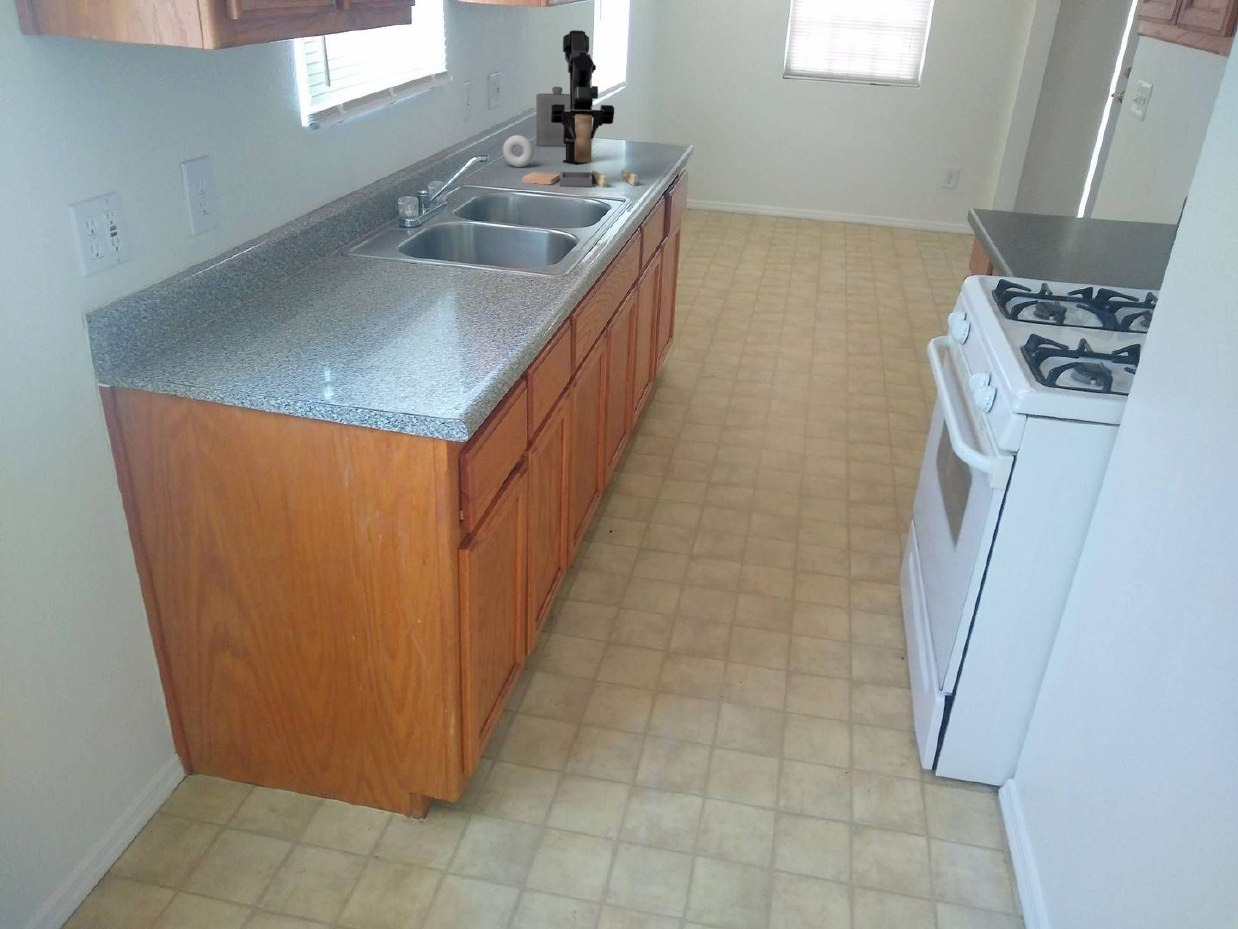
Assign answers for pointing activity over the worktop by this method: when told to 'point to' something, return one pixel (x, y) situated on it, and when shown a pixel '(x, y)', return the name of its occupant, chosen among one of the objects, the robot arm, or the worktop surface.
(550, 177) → the pad
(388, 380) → the worktop surface
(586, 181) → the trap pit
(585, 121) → the walnut post
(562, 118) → the robot arm
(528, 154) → the donut
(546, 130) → the flask
